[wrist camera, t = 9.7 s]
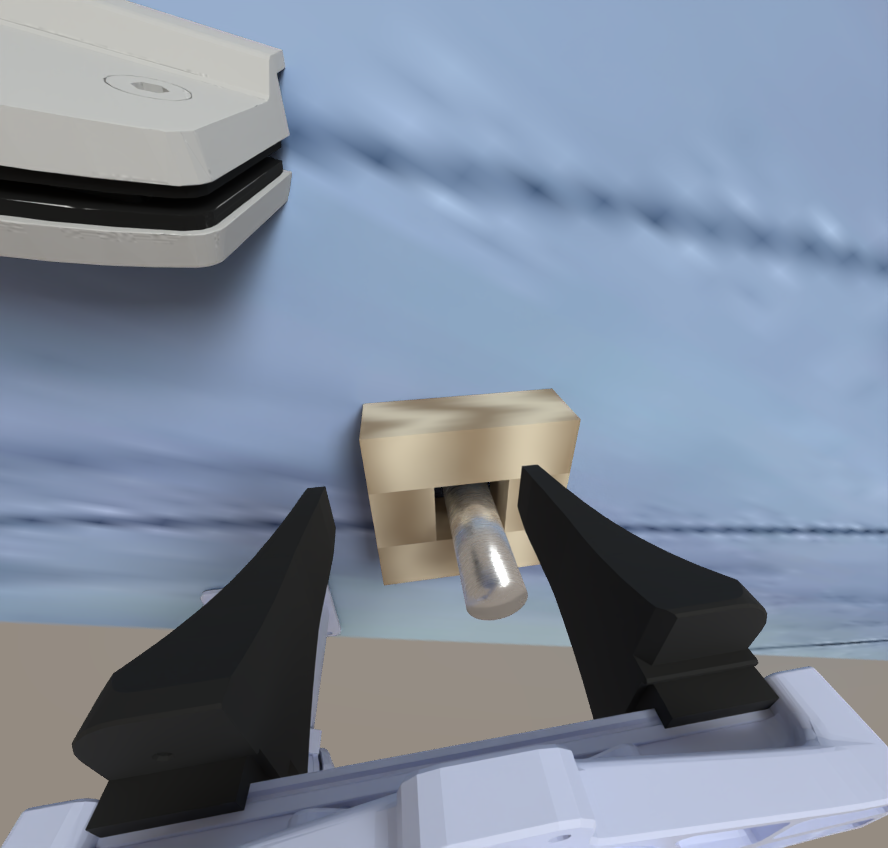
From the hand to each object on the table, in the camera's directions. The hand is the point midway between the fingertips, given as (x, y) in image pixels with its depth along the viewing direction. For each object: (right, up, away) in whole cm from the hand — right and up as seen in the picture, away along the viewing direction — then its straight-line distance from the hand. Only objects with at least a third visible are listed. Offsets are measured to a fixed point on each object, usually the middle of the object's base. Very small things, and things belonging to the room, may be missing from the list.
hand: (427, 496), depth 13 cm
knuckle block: (+2, -1, +12) cm, 12 cm away
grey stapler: (-14, +15, +1) cm, 21 cm away
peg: (+2, -1, +12) cm, 12 cm away
